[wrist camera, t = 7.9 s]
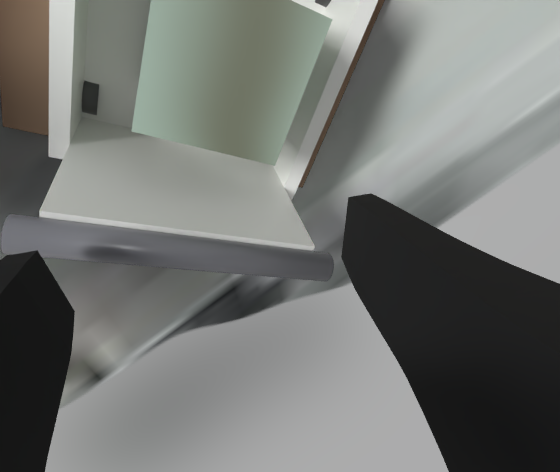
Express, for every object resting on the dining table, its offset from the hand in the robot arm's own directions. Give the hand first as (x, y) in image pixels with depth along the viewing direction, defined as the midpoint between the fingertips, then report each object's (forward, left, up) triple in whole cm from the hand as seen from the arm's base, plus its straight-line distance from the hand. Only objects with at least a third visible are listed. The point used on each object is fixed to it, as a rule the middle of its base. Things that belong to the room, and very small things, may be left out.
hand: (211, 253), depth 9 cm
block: (0, +3, -8) cm, 9 cm away
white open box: (0, +3, -10) cm, 11 cm away
